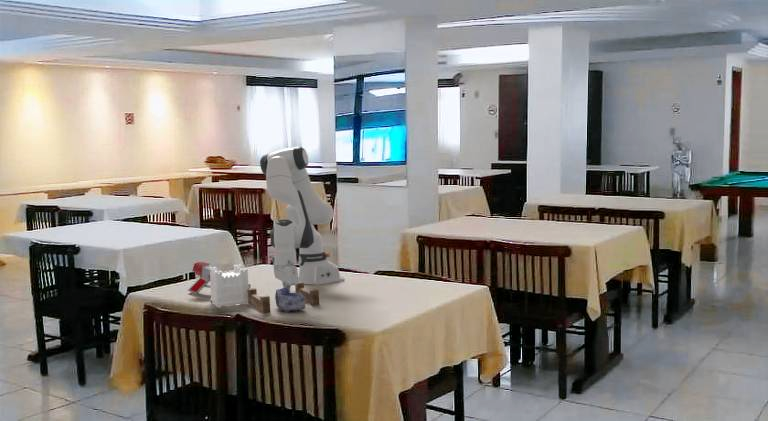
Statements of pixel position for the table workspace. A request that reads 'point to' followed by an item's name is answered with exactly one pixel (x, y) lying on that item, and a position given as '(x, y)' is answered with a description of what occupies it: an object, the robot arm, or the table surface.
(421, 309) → the table surface
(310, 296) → the wooden brackets
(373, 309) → the table surface
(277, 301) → the mineral
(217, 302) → the castle model
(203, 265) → the toy gun
